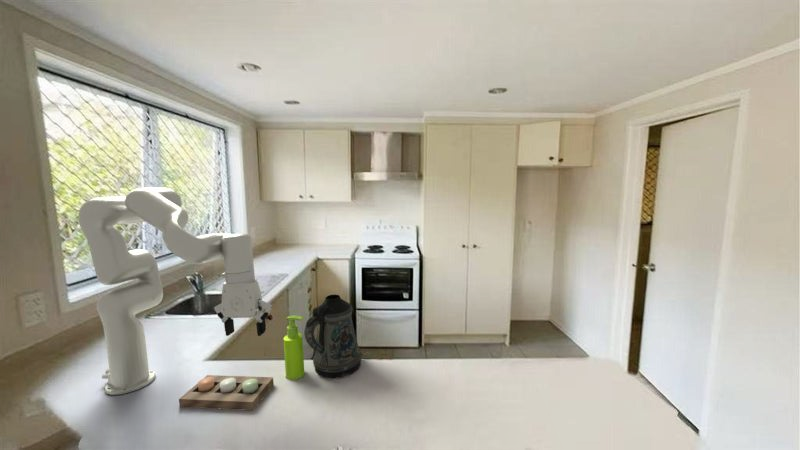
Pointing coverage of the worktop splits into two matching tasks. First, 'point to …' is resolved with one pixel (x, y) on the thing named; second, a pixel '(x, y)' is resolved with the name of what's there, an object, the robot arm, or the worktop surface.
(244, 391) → the button sage
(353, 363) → the beer stein
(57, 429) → the worktop surface
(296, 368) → the soap dispenser
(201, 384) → the button terracotta
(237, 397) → the button panel
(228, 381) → the white dome
